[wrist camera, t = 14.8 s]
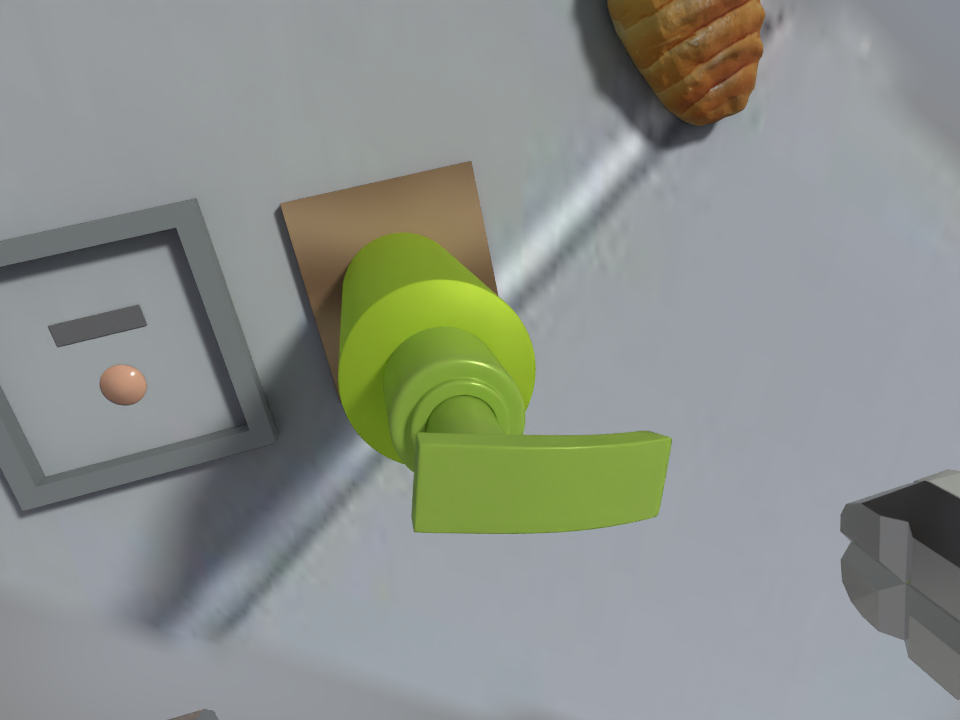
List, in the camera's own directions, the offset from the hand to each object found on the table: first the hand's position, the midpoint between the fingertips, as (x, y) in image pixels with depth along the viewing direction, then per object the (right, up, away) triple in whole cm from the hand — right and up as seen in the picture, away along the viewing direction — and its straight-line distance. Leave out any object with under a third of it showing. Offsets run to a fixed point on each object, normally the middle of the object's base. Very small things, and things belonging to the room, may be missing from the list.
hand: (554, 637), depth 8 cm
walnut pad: (-5, +7, +23) cm, 25 cm away
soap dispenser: (-4, +7, +23) cm, 25 cm away
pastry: (+8, +20, +23) cm, 32 cm away
